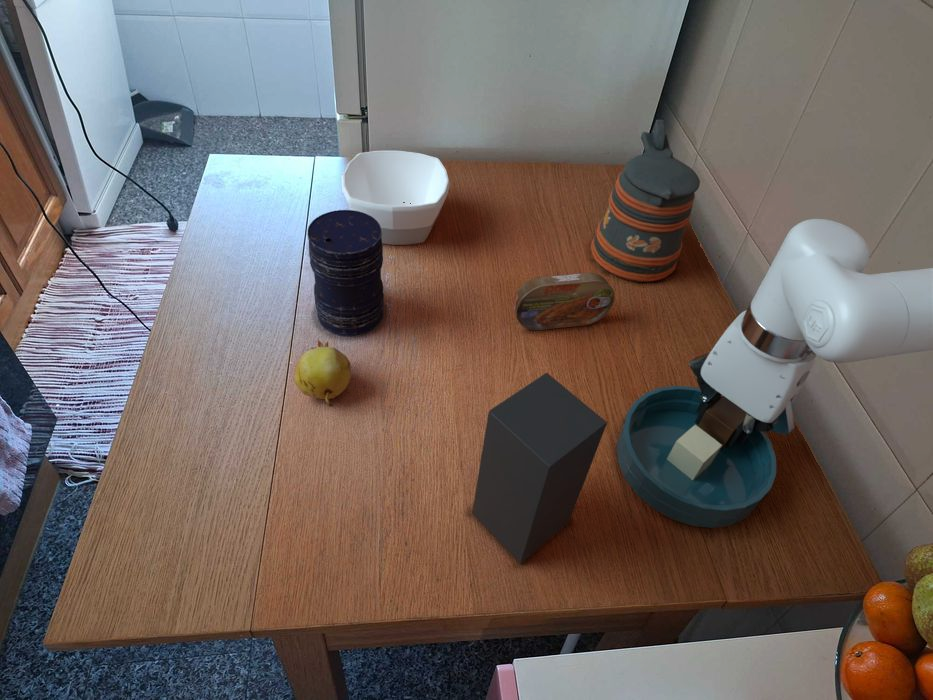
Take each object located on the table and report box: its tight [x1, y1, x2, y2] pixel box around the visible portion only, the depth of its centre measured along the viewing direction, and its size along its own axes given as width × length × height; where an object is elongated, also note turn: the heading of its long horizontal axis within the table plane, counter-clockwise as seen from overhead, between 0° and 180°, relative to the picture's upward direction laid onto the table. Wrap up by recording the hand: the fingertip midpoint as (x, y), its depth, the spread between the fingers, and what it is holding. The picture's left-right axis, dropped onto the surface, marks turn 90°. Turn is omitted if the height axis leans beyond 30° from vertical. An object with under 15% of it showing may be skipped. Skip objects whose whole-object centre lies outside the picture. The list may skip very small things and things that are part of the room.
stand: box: [471, 372, 608, 565], centre depth 68 cm, size 8×8×19 cm
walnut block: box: [698, 395, 747, 450], centre depth 82 cm, size 4×4×4 cm
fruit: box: [293, 339, 352, 408], centre depth 83 cm, size 7×7×10 cm
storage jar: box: [307, 209, 385, 338], centre depth 90 cm, size 10×10×15 cm
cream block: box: [667, 425, 722, 480], centre depth 80 cm, size 4×4×4 cm
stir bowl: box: [615, 385, 777, 529], centre depth 80 cm, size 18×18×4 cm
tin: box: [513, 272, 615, 331], centre depth 95 cm, size 15×3×8 cm, turn 102°
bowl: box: [340, 150, 451, 246], centre depth 109 cm, size 18×18×9 cm
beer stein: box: [590, 119, 701, 283], centre depth 105 cm, size 19×15×20 cm
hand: (718, 429), depth 83 cm, fingers closed on walnut block, 4 cm apart
